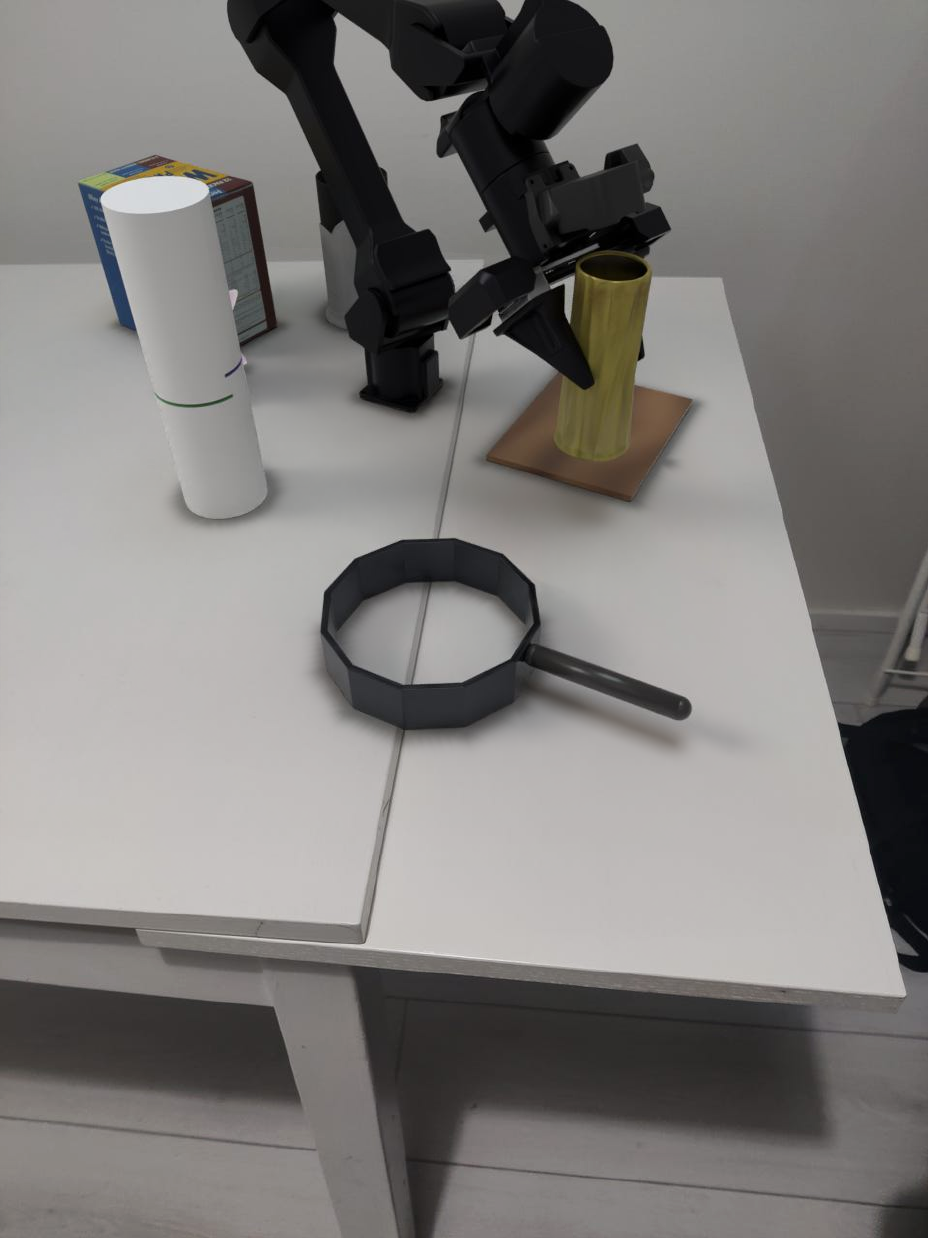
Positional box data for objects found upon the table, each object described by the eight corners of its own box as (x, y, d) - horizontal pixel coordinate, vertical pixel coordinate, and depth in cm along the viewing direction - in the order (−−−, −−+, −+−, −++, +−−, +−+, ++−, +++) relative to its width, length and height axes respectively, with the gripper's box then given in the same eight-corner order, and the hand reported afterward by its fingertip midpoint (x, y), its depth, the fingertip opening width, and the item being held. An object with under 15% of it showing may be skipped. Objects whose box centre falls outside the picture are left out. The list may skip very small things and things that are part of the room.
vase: (615, 471, 68) (643, 292, 57) (541, 450, 69) (556, 274, 59) (639, 431, 71) (669, 257, 61) (569, 413, 73) (587, 241, 63)
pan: (286, 680, 61) (278, 640, 58) (395, 556, 71) (392, 517, 68) (645, 830, 53) (655, 792, 50) (714, 666, 62) (726, 626, 59)
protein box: (187, 291, 106) (154, 152, 95) (279, 326, 99) (255, 180, 88) (117, 324, 100) (73, 180, 89) (210, 363, 93) (175, 212, 82)
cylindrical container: (283, 481, 78) (230, 184, 60) (236, 527, 73) (163, 220, 56) (217, 462, 80) (147, 170, 63) (167, 505, 76) (77, 203, 58)
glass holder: (339, 335, 97) (323, 194, 87) (303, 285, 107) (285, 152, 96) (412, 321, 100) (405, 181, 89) (371, 273, 109) (360, 142, 99)
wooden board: (485, 459, 80) (485, 454, 80) (561, 372, 92) (562, 366, 91) (630, 502, 76) (631, 496, 75) (691, 404, 87) (692, 398, 87)
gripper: (478, 137, 51) (600, 378, 54) (672, 79, 60) (770, 286, 63) (398, 234, 61) (504, 434, 63) (576, 171, 70) (663, 348, 72)
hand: (614, 373), depth 65 cm, fingers closed on vase, 5 cm apart
